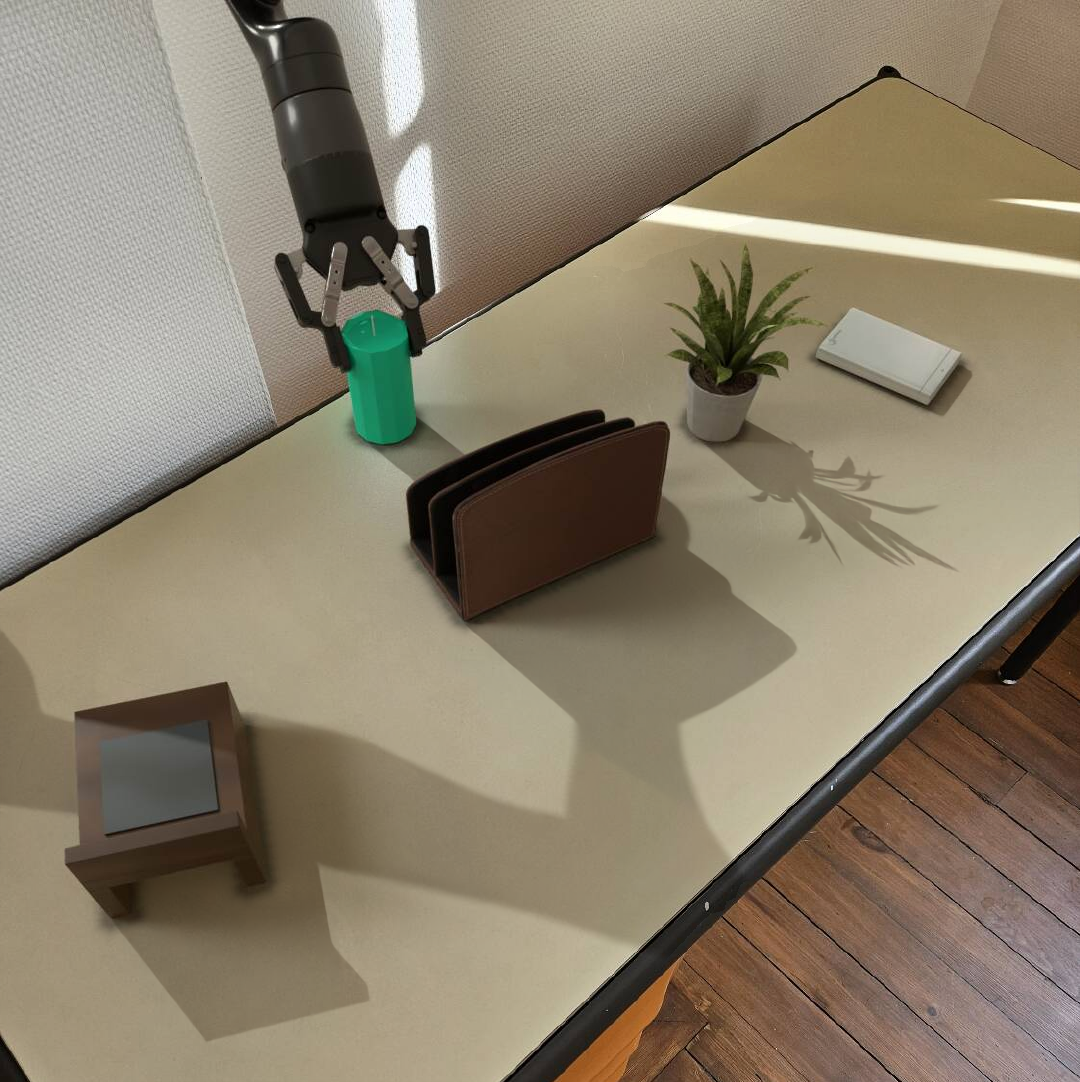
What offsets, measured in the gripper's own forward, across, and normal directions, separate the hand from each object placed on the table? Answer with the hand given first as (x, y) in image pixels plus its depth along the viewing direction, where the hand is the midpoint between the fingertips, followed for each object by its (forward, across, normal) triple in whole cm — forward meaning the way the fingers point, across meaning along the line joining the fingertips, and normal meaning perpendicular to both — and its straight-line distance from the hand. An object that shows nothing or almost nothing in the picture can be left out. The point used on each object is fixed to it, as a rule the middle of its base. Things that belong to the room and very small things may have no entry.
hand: (382, 363), depth 95 cm
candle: (+5, 0, +7) cm, 9 cm away
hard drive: (+11, +51, +1) cm, 52 cm away
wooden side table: (+30, -27, -18) cm, 44 cm away
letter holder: (+18, +8, -6) cm, 21 cm away
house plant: (+13, +31, -1) cm, 34 cm away
